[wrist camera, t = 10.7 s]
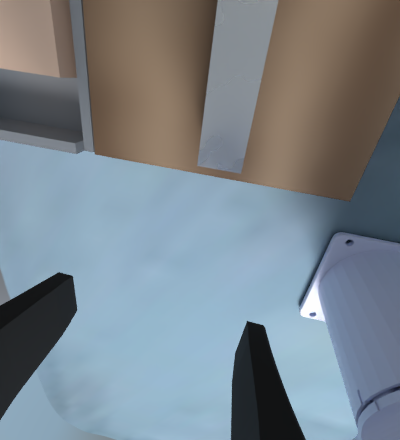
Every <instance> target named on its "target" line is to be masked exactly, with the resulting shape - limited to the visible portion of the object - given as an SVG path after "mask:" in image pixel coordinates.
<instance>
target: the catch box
mask: <svg viewBox="0 0 400 440" xmlns="http://www.w3.org/2000/svg"><path fill="white" fill-rule="evenodd" d="M69 5H70V14H71V24H72V34H73V44H74V53H75V63H76V73H77V78H59V77H53V76H46V75H40V74H33V73H27V72H21V71H14V70H8V69H2V68H0V140H5V141H10V142H15V143H21V144H26V145H31V146H37V147H42V148H47V149H53V150H58V151H63V152H69V153H74V154H77V153H80V152H82V151H90V152H95V148H94V136H93V124H92V111H91V99H90V87H89V75H88V63H87V50H86V38H85V26H84V14H83V1H82V0H69Z"/></svg>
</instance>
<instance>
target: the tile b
mask: <svg viewBox="0 0 400 440" xmlns="http://www.w3.org/2000/svg"><path fill="white" fill-rule="evenodd" d="M0 68H2V69H8V70H14V71H21V72H27V73H33V74H40V75H46V76H53V77H59V78H77V73H76V63H75V53H74V44H73V34H72V24H71V14H70V5H69V0H0Z"/></svg>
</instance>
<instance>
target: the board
mask: <svg viewBox="0 0 400 440" xmlns="http://www.w3.org/2000/svg"><path fill="white" fill-rule="evenodd" d="M82 1H83V14H84V26H85V38H86V50H87V63H88V75H89V87H90V99H91V111H92V124H93V136H94V148H95V154H96V155H102V156H107V157H112V158H118V159H123V160H129V161H134V162H139V163H145V164H150V165H156V166H161V167H166V168H172V169H177V170H183V171H188V172H193V173H199V174H204V175H209V176H215V177H220V178H226V179H231V180H236V181H242V182H247V183H253V184H258V185H263V186H269V187H274V188H280V189H285V190H290V191H296V192H301V193H307V194H312V195H317V196H323V197H328V198H334V199H339V200H344V201H350V200H351V198H352V196H353V194H354V192H355V190H356V188H357V186H358V183H359V181H360V179H361V177H362V175H363V173H364V171H365V169H366V166H367V164H368V162H369V160H370V158H371V156H372V154H373V151H374V149H375V147H376V145H377V143H378V141H379V139H380V137H381V134H382V132H383V130H384V128H385V126H386V124H387V122H388V120H389V117H390V115H391V113H392V111H393V109H394V107H395V105H396V102H397V100H398V98H399V96H400V0H278V5H277V10H276V14H275V19H274V23H273V28H272V33H271V37H270V42H269V47H268V51H267V56H266V60H265V65H264V70H263V74H262V79H261V83H260V88H259V93H258V97H257V102H256V107H255V111H254V116H253V120H252V125H251V130H250V134H249V139H248V143H247V148H246V153H245V157H244V162H243V167H242V171H241V174H240V173H234V172H229V171H223V170H218V169H212V168H207V167H201V166H197V164H198V156H199V148H200V139H201V131H202V123H203V115H204V107H205V99H206V91H207V83H208V75H209V67H210V59H211V51H212V43H213V35H214V27H215V19H216V11H217V3H218V0H82Z"/></svg>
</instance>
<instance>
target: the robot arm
mask: <svg viewBox="0 0 400 440" xmlns="http://www.w3.org/2000/svg"><path fill="white" fill-rule="evenodd" d="M347 240H352V241H351V242H349V243H345V242H346V241H347ZM76 311H77V304H76V297H75V289H74V282H73V276H71V275H67V274H63V273H57V274H55V275H53V276H52V277H50V278H48V279H46V280H45V281H43V282H41V283H39V284H38V285H36V286H34V287H32V288H31V289H29V290H27V291H25V292H24V293H22V294H20V295H18V296H17V297H15V298H13V299H11V300H10V301H8V302H6V303H4V304H2V305H1V306H0V420H1V418H2V416H3V415H4V413H5V412H6V410H7V409H8V407H9V406H10V404H11V403H12V401H13V400H14V398H15V397H16V395H17V394H18V393H19V391H20V390H21V389H22V387H23V386H24V385H25V383H26V382H27V381H28V379H29V378H30V377H31V375H32V374H33V373H34V372H35V370H36V369H37V368H38V366H39V365H40V364H41V362H42V361H43V360H44V359H45V357H46V356H47V355H48V353H49V352H50V351H51V349H52V348H53V347H54V345H55V344H56V343H57V341H58V340H59V339H60V337H61V336H62V335H63V333H64V332H65V330H66V328H67V327H68V325H69V323H70V322H71V320H72V318H73V317H74V315H75V313H76ZM299 312H300V314H301V315H302V316H304V317H308V318H312V319H317V320H321V321H325V322H326V324H327V328H328V331H329V334H330V338H331V341H332V345H333V348H334V351H335V355H336V358H337V361H338V365H339V368H340V371H341V375H342V378H343V382H344V385H345V388H346V392H347V395H348V398H349V402H350V405H351V408H352V412H353V415H354V419H355V422H356V425H357V428H358V434H357V436H356V437H355V438H354V439H352V440H400V243H395V242H390V241H385V240H380V239H375V238H370V237H365V236H360V235H354V234H349V233H344V232H339V233H336V234H335V235H334V236H333V237H332V239H331V242H330V244H329V246H328V248H327V250H326V252H325V254H324V257H323V259H322V261H321V263H320V265H319V267H318V269H317V272H316V274H315V276H314V278H313V280H312V282H311V284H310V287H309V289H308V291H307V293H306V295H305V297H304V299H303V301H302V304H301V306H300V308H299ZM311 312H314V313H311ZM231 440H306V439H305V437H304V435H303V432H302V430H301V428H300V426H299V423H298V421H297V418H296V416H295V414H294V411H293V409H292V407H291V404H290V402H289V399H288V397H287V394H286V391H285V389H284V386H283V383H282V380H281V378H280V375H279V372H278V369H277V367H276V364H275V360H274V357H273V354H272V351H271V348H270V345H269V341H268V337H267V334H266V330H265V327H264V326H263V325H260V324H256V323H252V322H249V321H247V323H246V326H245V329H244V331H243V334H242V337H241V339H240V342H239V345H238V347H237V350H236V353H235V361H234V369H233V379H232V418H231Z"/></svg>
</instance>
